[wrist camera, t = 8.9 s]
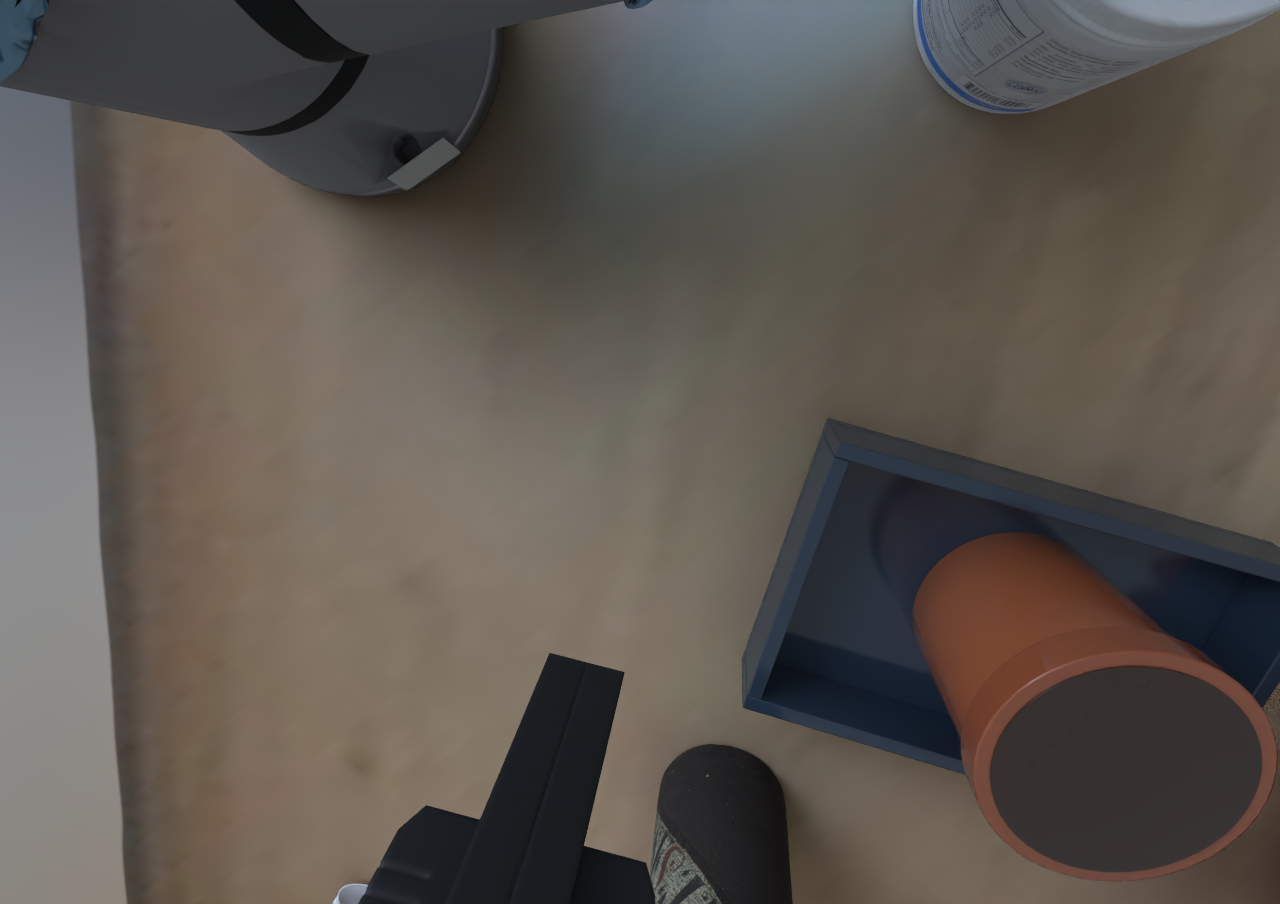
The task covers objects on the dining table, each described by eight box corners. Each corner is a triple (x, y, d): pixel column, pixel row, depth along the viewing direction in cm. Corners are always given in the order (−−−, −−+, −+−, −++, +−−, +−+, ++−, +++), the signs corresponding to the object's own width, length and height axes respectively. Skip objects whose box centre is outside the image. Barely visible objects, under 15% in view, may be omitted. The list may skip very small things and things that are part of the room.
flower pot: (895, 547, 29) (1374, 771, 21) (975, 488, 41) (1293, 614, 33) (811, 754, 32) (1196, 1012, 24) (908, 641, 44) (1183, 789, 37)
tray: (827, 417, 37) (839, 441, 33) (1271, 542, 36) (1345, 583, 32) (741, 659, 42) (742, 707, 38) (1130, 775, 41) (1177, 839, 37)
